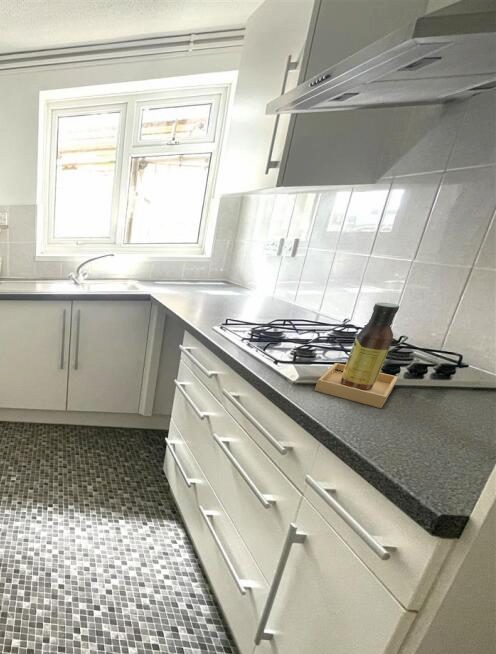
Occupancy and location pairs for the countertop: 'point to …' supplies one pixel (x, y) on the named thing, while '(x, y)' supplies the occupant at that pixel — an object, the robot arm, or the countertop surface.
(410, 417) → the countertop surface
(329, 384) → the serving tray
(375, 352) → the sauce bottle
